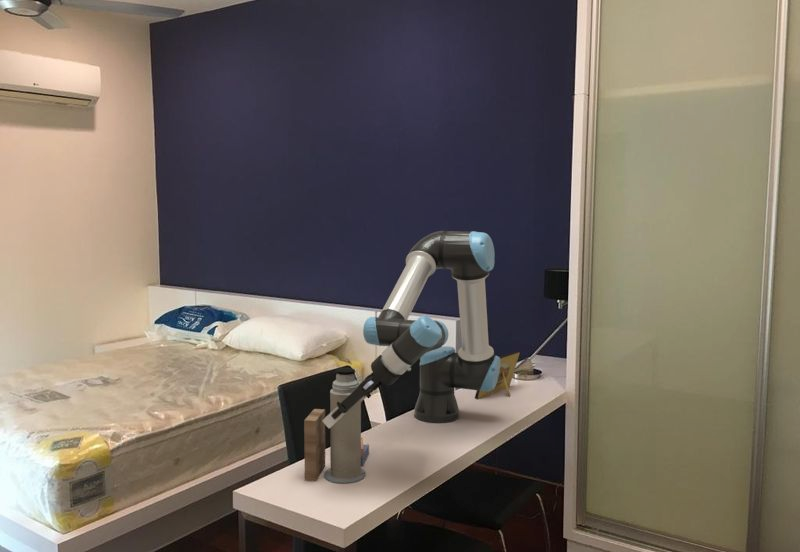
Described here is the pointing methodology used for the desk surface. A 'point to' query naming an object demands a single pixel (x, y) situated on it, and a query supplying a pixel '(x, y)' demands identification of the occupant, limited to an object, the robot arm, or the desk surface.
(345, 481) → the coaster
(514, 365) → the picture frame
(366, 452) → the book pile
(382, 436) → the desk surface
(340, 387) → the thermos bottle
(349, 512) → the desk surface
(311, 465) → the bookend
